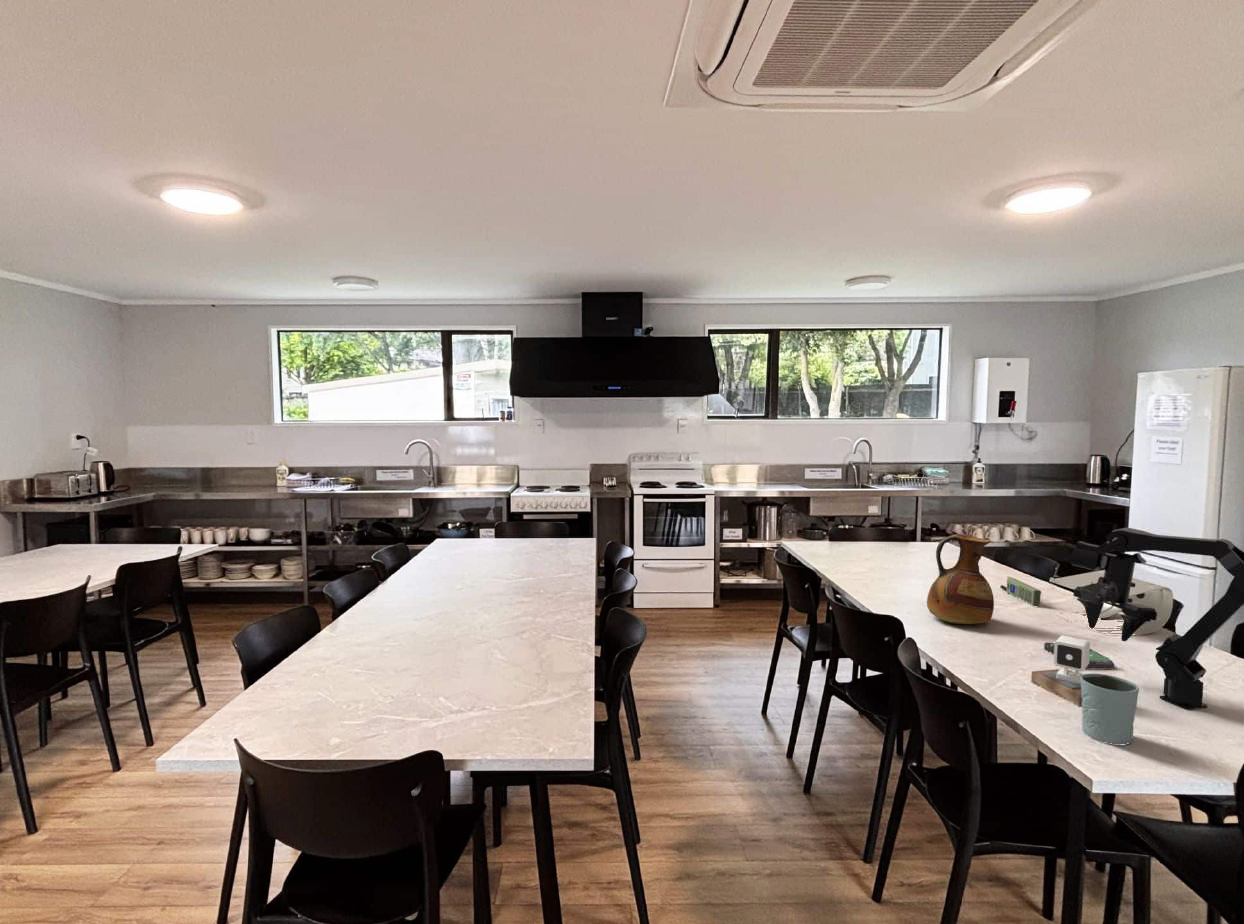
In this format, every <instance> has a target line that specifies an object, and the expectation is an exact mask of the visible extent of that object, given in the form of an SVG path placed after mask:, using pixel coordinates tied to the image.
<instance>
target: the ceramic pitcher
mask: <svg viewBox="0 0 1244 924" xmlns="http://www.w3.org/2000/svg"><path fill="white" fill-rule="evenodd" d="M950 541H955V542H957V543H958V545H959V556H958V560H957V562H956V563H955V565H953V566H952V567H950V568H945V567H944V564H943V562H942V558H941V555H942V554H941V553H942V551H943V547H944V546H945V544H947V543H948V542H950ZM990 542H991V540H989V539H985V538H984V539H983V538H980V537H976V536H972V535H969V534H963V533H962V534H961V533H954V534H952V535H949V536H947V537H945V538H943V539H942V540H940V541H939V542H938V545H937V547H936V551H935V558H936V564H937V569H938V572H939V573H938V574H939V575H938V576H937V578H936V579H935V580H934V582H933V583H932V584H931V586H930V588H929V591H928V594H927V599H926V607H927V610H928V611H929V613H930V614H932V615H933V616H935V617H936V618H938V619H940V620H942V621H943V622H944V621H945V622H947V623H950V624H955V625H956V624H957V625H972V624H973V623H974V624H985V623H988V622H990V621H991V620H992V617H993V615H994V609H995V599H994V594H993V593H994V592H993V589H992V587H991V585H990V583H989V582H988V580H987V578H986V577H985V576H984V575H983V574H982V573H981V572H980V566H979V562H980V560H981V558H982V550H983V548H984V547H985V546H987V545H988V544H990Z"/></svg>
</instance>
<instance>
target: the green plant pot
mask: <svg viewBox="0 0 1244 924" xmlns="http://www.w3.org/2000/svg"><path fill="white" fill-rule="evenodd" d="M1080 679H1081V691H1082V695H1081V697H1082V706H1081V713H1082V715H1081V724H1082V725H1081V727H1082V732H1083V731H1084V732H1083V733H1084V734H1085V735H1086V734H1087V735H1088V737H1089V736H1091V737H1092V738H1094V739H1096V740H1095V741H1097V740H1099V741H1098V742H1100V741H1102V742H1101V743H1103V742H1107V743H1112V744H1127V743H1131V744H1132V743H1133V735H1134V730H1135V729H1134V723H1135V716H1136V715H1135V712H1136V710H1137V703H1138V699H1139V691H1140V687H1139V685H1137V684H1135V683H1134V682H1133V681H1129V680H1127V679H1125V678H1121V677H1119V676H1113V675H1109V674H1103V673H1086V674H1084V675H1082V676H1081V677H1080ZM1087 735H1086V736H1087ZM1091 737H1090V738H1091ZM1092 738H1091V739H1092ZM1094 739H1093V740H1094Z"/></svg>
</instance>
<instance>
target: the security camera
mask: <svg viewBox="0 0 1244 924" xmlns="http://www.w3.org/2000/svg"><path fill="white" fill-rule="evenodd" d="M1090 649H1091V643H1090V641H1089V640H1087V639H1083V638H1082V639H1081V638H1076V637H1071V636H1067V635H1060V637H1058V638H1057V639H1056V641H1055V642H1054V655H1053V664H1054V665H1055V666H1056V667H1060V668H1059V669H1060V670H1059V671H1058V672H1057V679H1061V680H1066V681H1070V682H1074V683H1078V684H1081V679H1080V677H1081V676H1082V675H1084V674H1087V673H1086V672H1084V671H1085V670H1086V669H1085V668H1086V667H1087V666H1088V664H1089V655H1090Z"/></svg>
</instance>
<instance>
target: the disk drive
mask: <svg viewBox="0 0 1244 924" xmlns="http://www.w3.org/2000/svg"><path fill="white" fill-rule="evenodd" d="M1054 644H1055V642H1054V643H1053V642H1044V645H1043V646H1044V647H1043V650H1044V649H1045V650H1044V651H1046V650H1047V651H1048V652H1047V651H1046V652H1047V653H1049V652H1051V653H1052V654H1051V653H1050V654H1051V655H1053V654H1054ZM1086 668H1108V669H1107V670H1112V669H1111V668H1114V669H1115V663H1114V662H1113V660H1112V659H1110V658H1109V657H1107V656H1104V654H1101V653H1099V652H1097V651H1094V650H1093V649H1091V648H1090V655H1089V664H1088V666H1087V667H1086ZM1109 668H1110V669H1109Z"/></svg>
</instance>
